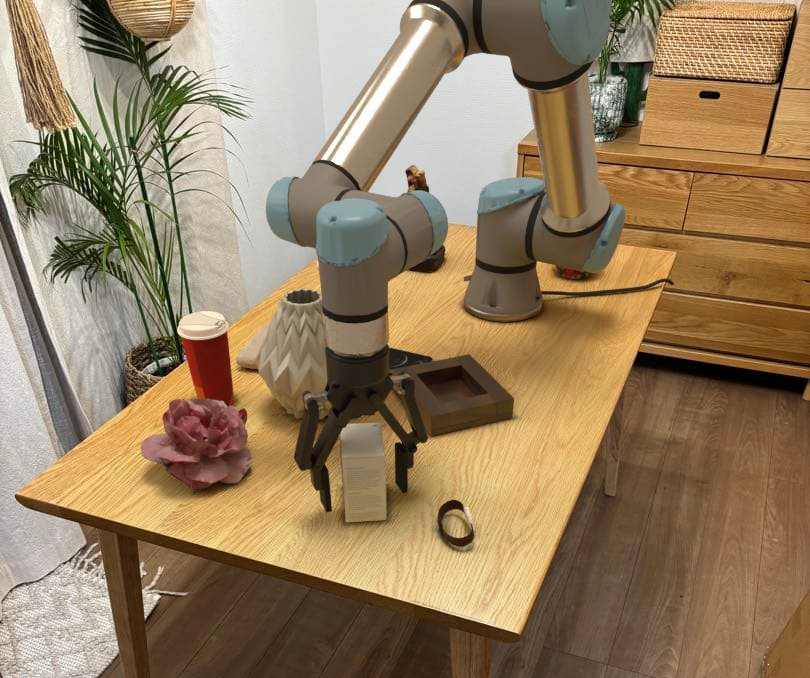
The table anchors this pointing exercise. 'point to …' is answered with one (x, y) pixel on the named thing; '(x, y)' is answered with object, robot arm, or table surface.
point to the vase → (295, 351)
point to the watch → (459, 506)
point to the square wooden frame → (457, 394)
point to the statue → (419, 183)
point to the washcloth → (252, 349)
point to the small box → (363, 472)
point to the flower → (201, 442)
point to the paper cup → (208, 355)
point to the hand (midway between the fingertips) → (364, 496)
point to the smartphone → (405, 358)
